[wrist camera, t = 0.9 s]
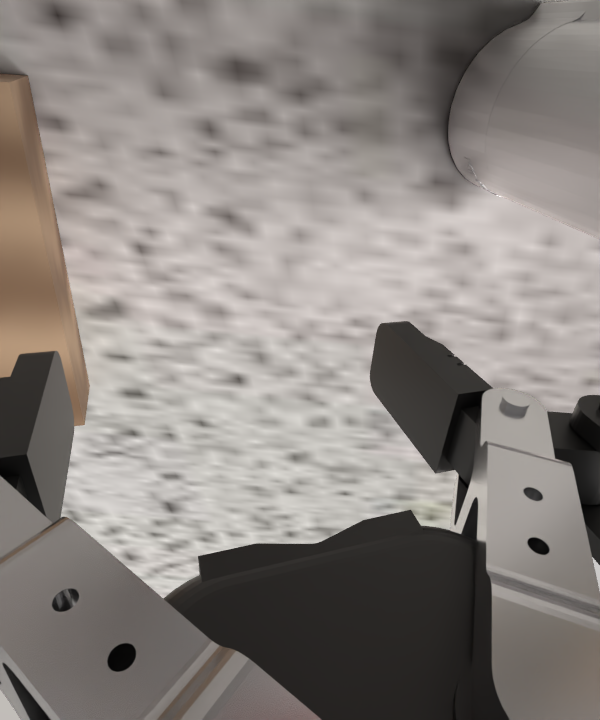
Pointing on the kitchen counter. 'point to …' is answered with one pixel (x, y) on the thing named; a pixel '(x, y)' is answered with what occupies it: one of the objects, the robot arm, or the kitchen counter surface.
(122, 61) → the kitchen counter surface
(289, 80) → the kitchen counter surface
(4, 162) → the block
